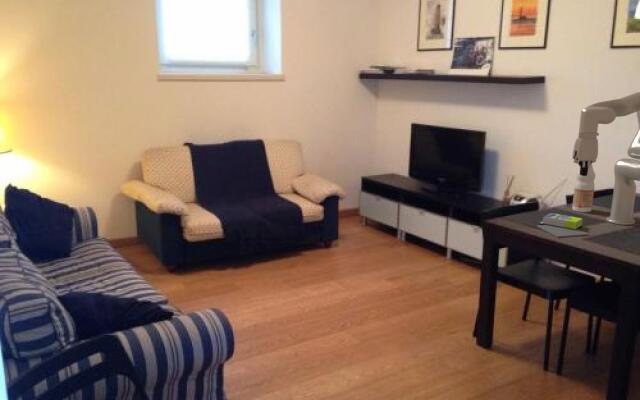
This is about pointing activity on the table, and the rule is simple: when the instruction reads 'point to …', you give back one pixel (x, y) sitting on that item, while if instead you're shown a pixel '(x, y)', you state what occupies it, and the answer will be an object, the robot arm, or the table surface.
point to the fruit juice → (584, 191)
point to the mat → (562, 231)
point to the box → (562, 221)
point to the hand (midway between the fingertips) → (583, 175)
